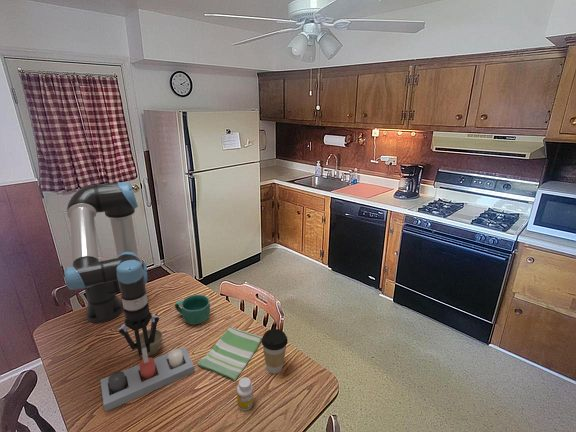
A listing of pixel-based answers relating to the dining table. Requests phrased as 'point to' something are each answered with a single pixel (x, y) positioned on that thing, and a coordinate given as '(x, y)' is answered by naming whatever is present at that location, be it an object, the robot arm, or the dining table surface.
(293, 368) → the dining table surface
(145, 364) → the button red
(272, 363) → the coffee cup
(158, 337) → the flower pot
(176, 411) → the dining table surface
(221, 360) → the dish towel
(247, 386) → the supplement bottle
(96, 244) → the robot arm
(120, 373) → the button black
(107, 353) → the dining table surface
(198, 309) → the mug
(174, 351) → the button ivory
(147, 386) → the panel
